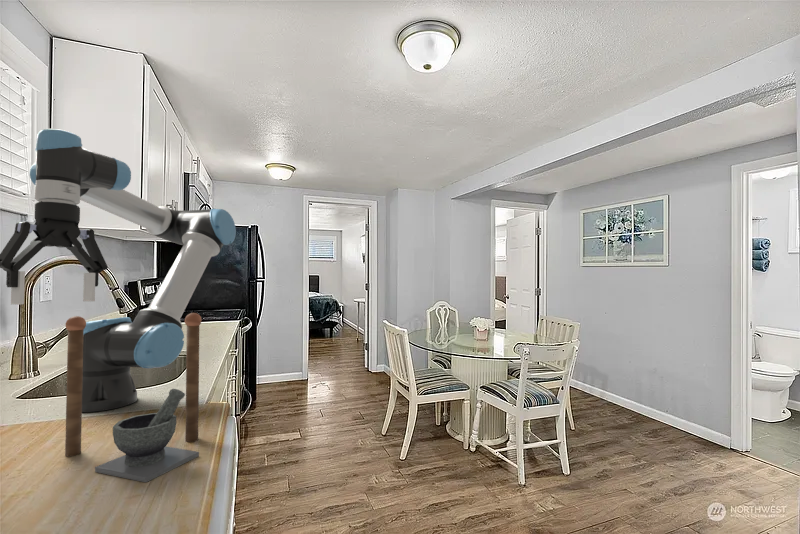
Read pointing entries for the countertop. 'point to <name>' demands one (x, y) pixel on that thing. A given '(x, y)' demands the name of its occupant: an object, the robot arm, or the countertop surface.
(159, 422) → the mortar and pestle
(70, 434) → the post
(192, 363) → the post
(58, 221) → the robot arm
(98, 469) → the slate pad
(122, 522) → the countertop surface
